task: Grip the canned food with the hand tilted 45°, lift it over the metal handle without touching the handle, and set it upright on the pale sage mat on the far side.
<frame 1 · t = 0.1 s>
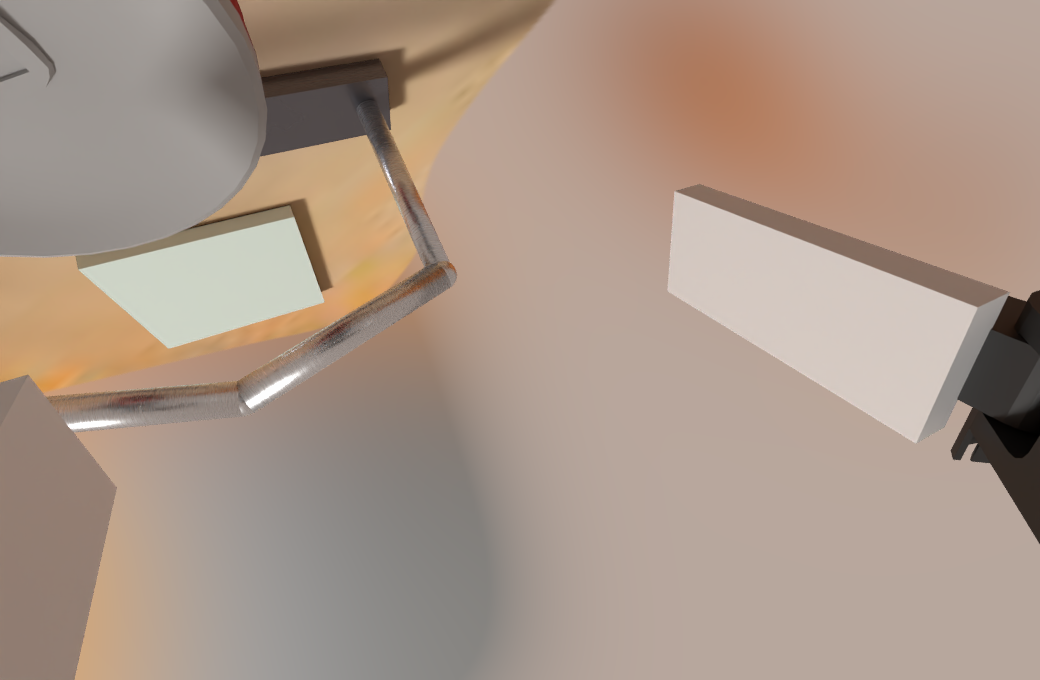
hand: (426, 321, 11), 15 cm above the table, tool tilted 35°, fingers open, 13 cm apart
sage mat: (222, 277, 31), on the table
metal handle: (164, 124, 21), on the table
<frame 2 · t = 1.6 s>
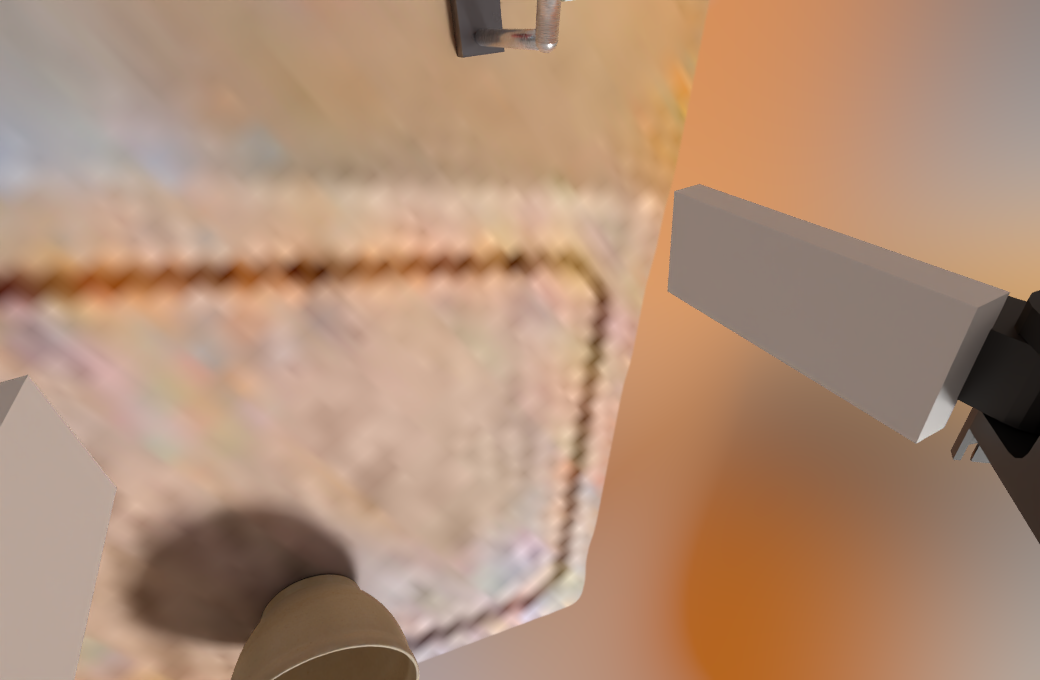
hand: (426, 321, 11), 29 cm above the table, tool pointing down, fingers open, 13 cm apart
planter bowl: (311, 604, 54), on the table
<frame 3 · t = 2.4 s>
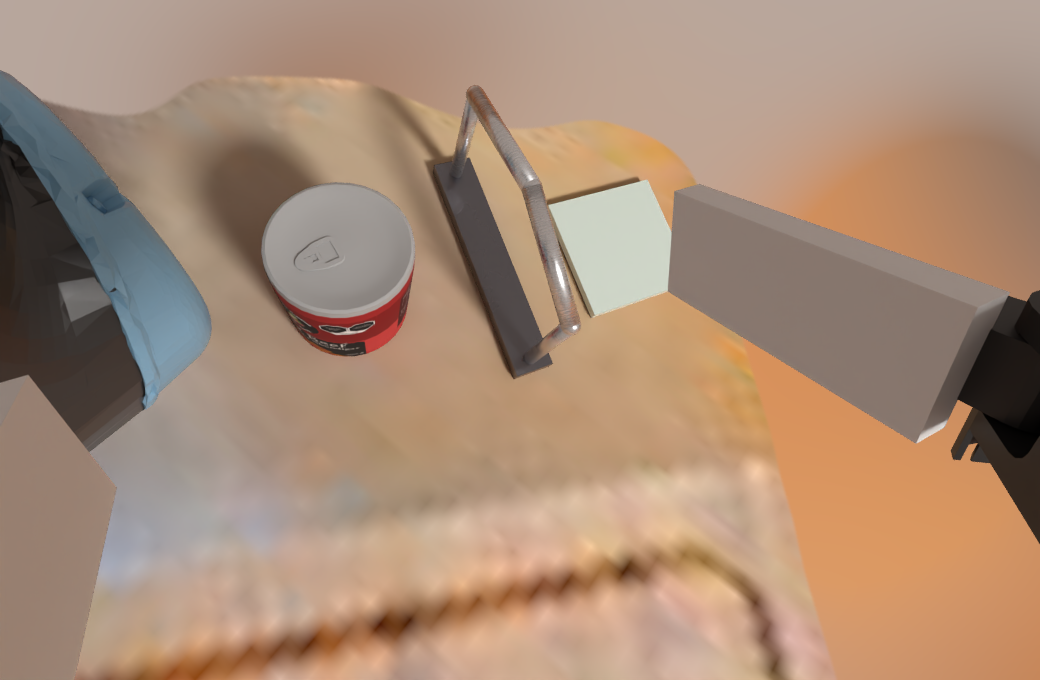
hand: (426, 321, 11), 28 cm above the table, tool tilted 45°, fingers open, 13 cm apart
canned food: (351, 308, 39), on the table
sage mat: (618, 247, 45), on the table
metal handle: (489, 268, 42), on the table
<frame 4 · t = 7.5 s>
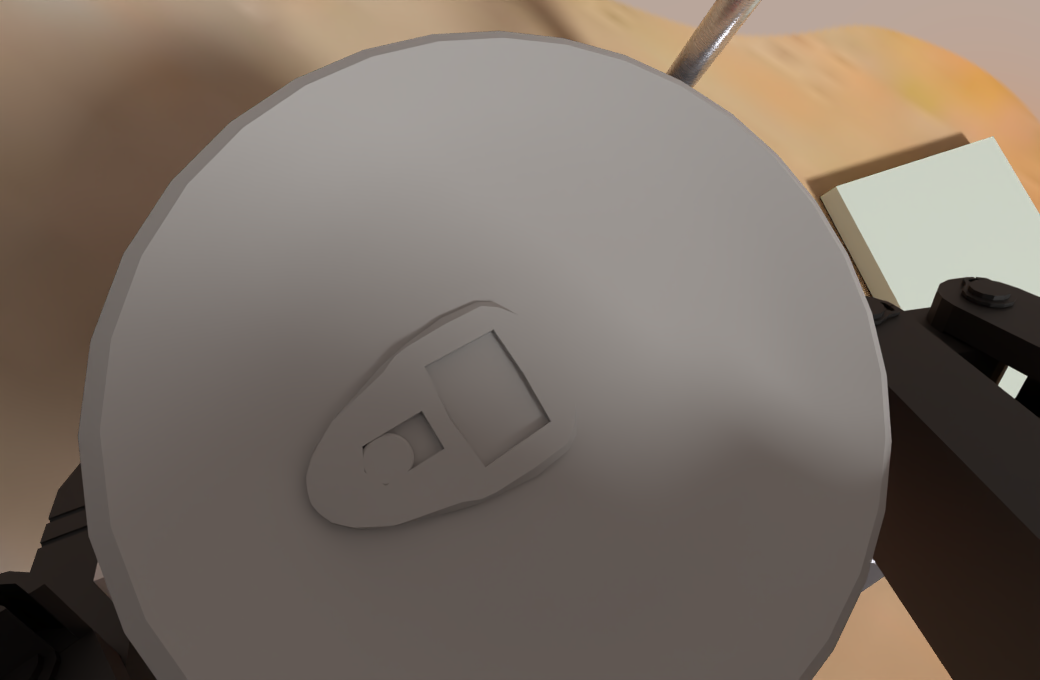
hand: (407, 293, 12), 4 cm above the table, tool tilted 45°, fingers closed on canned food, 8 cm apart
canned food: (442, 441, 15), on the table, touching gripper
sage mat: (960, 273, 22), on the table
metal handle: (732, 325, 19), on the table
when the fingers open (6 cm above the table, at t = 16.8 s): canned food drops 1 cm, resting on sage mat.
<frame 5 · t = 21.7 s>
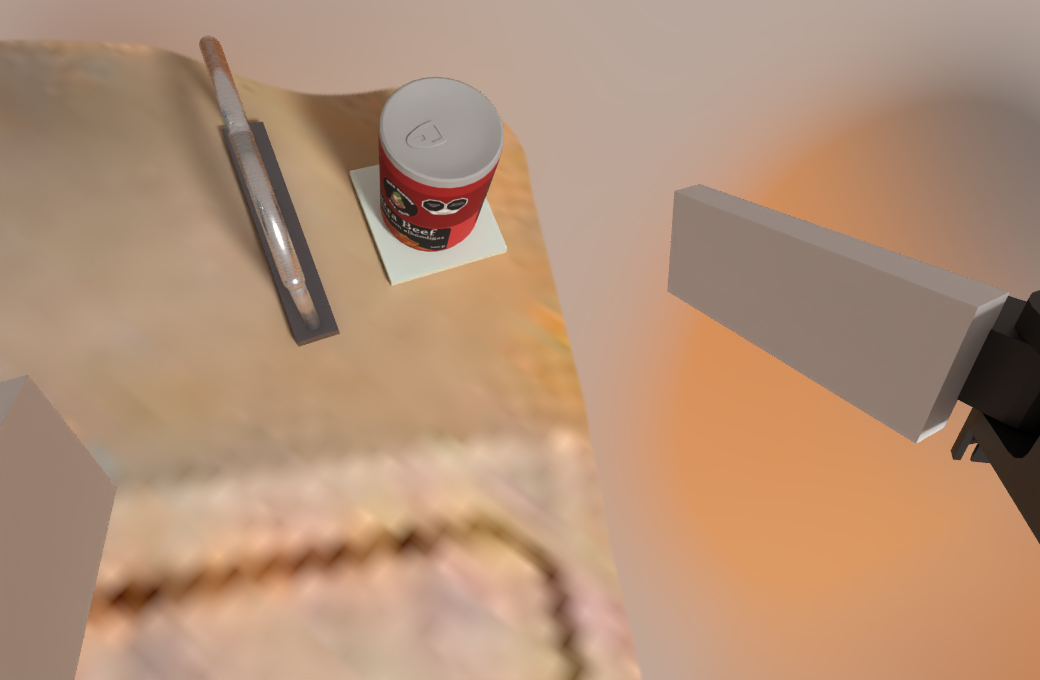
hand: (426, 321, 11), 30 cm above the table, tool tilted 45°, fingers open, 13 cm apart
canned food: (429, 212, 43), point 1 cm above the table, touching sage mat
sage mat: (429, 215, 44), on the table
metal handle: (281, 234, 41), on the table
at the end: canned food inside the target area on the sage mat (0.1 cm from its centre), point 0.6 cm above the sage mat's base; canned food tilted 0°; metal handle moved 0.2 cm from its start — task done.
